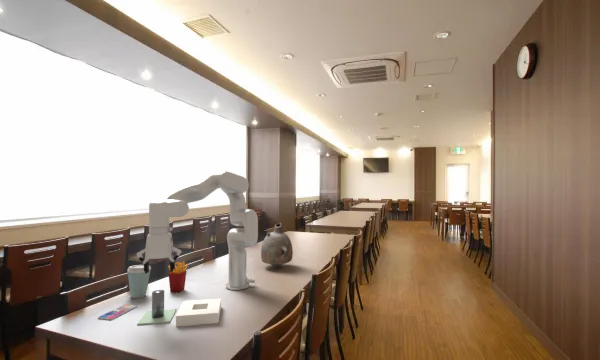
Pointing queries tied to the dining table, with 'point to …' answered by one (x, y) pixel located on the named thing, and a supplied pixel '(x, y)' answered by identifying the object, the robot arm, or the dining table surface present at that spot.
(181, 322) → the pocket block
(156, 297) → the peg
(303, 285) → the dining table surface
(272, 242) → the jug
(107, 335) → the dining table surface
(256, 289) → the dining table surface
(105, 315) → the smartphone
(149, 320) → the pad
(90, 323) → the dining table surface
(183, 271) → the french fries
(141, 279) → the disposable coffee cup
